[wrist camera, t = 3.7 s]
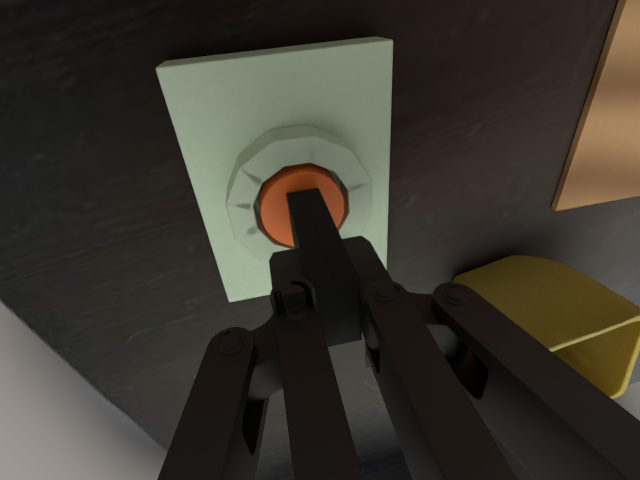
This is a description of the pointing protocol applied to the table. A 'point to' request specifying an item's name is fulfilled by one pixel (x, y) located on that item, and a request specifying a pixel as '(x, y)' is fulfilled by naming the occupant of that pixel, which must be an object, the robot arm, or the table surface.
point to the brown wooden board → (608, 122)
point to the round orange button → (292, 181)
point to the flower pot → (565, 315)
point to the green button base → (282, 141)
